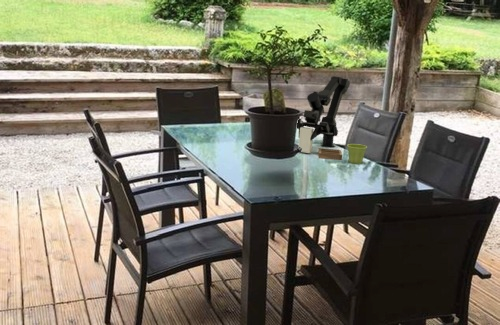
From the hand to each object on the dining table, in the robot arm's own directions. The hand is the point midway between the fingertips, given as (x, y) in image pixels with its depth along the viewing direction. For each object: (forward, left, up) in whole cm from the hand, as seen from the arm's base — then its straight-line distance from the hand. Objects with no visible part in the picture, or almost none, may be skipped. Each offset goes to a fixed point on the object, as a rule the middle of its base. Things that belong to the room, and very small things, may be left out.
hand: (304, 138), depth 273 cm
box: (+3, +13, -8) cm, 15 cm away
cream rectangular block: (-1, +1, -7) cm, 7 cm away
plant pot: (+12, +24, -8) cm, 28 cm away
